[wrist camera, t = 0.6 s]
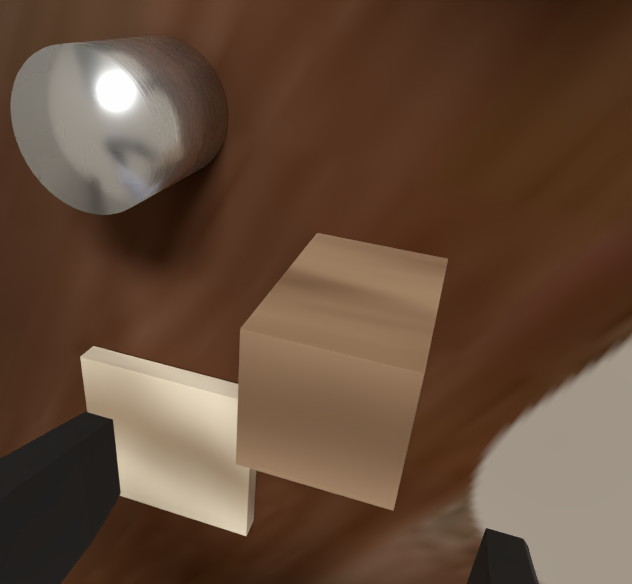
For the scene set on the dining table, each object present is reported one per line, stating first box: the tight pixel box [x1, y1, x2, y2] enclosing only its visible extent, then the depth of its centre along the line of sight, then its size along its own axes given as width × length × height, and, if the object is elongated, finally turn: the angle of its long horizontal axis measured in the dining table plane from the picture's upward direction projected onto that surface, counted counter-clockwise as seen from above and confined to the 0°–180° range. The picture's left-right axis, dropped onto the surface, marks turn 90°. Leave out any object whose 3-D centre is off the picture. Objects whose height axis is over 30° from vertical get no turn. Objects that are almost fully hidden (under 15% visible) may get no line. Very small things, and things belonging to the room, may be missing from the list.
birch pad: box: [80, 346, 256, 536], centre depth 23 cm, size 7×7×1 cm
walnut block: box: [236, 233, 448, 510], centre depth 15 cm, size 4×4×6 cm
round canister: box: [11, 35, 228, 215], centre depth 15 cm, size 4×4×4 cm
